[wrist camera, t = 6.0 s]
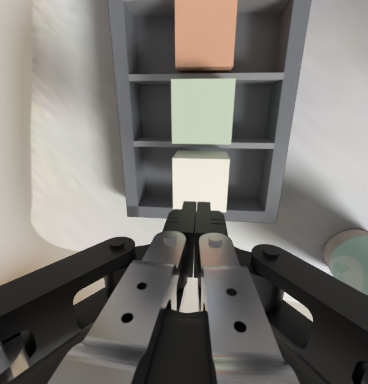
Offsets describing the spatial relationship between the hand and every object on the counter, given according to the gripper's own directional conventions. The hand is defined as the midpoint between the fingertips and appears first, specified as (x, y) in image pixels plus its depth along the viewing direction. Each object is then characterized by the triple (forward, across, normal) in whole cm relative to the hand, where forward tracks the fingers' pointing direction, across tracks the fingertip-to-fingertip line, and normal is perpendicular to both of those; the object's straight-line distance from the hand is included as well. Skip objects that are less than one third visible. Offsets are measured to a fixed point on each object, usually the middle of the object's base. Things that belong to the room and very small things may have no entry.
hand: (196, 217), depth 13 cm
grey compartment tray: (+13, 0, -8) cm, 15 cm away
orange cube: (+11, 0, -11) cm, 16 cm away
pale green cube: (+9, 0, -5) cm, 11 cm away
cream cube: (+9, 0, 0) cm, 9 cm away
